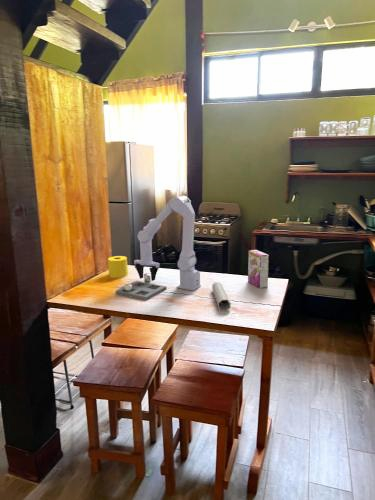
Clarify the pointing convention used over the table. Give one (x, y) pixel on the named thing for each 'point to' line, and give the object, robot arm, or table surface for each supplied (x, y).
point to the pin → (128, 288)
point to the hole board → (142, 290)
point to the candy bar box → (258, 268)
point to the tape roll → (117, 266)
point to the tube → (221, 297)
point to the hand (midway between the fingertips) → (147, 279)
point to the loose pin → (147, 278)
